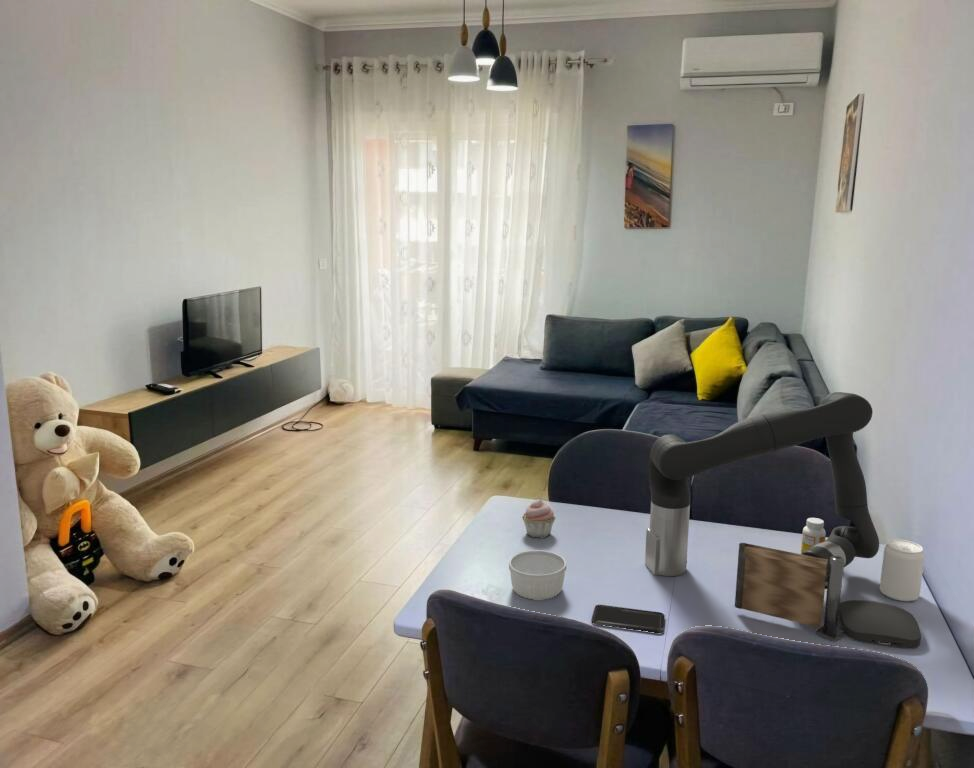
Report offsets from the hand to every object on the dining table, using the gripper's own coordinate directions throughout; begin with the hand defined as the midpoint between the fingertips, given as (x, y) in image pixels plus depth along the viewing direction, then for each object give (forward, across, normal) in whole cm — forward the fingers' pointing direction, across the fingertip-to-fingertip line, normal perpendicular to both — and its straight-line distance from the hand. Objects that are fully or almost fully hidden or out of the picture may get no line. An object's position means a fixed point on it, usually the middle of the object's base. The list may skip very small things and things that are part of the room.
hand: (782, 586), depth 166 cm
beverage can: (-31, +12, +8) cm, 35 cm away
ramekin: (+29, -44, +8) cm, 54 cm away
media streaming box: (-13, +15, +9) cm, 22 cm away
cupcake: (+6, -67, +8) cm, 68 cm away
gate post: (-4, +1, +8) cm, 9 cm away
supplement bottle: (-36, -11, +8) cm, 38 cm away
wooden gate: (+1, 0, +6) cm, 7 cm away
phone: (+24, -22, +8) cm, 34 cm away
